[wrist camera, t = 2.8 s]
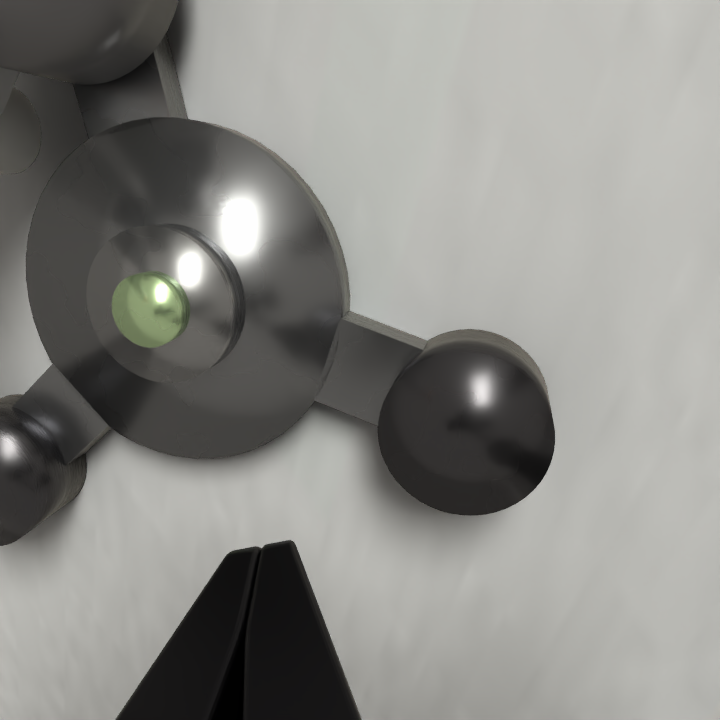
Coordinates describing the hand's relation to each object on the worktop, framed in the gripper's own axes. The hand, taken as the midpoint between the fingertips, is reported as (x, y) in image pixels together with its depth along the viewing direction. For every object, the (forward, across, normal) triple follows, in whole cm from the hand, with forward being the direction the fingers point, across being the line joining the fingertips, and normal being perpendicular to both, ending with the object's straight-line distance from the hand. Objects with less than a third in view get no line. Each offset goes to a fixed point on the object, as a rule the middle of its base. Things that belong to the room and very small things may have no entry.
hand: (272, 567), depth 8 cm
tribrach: (+13, +3, -1) cm, 13 cm away
